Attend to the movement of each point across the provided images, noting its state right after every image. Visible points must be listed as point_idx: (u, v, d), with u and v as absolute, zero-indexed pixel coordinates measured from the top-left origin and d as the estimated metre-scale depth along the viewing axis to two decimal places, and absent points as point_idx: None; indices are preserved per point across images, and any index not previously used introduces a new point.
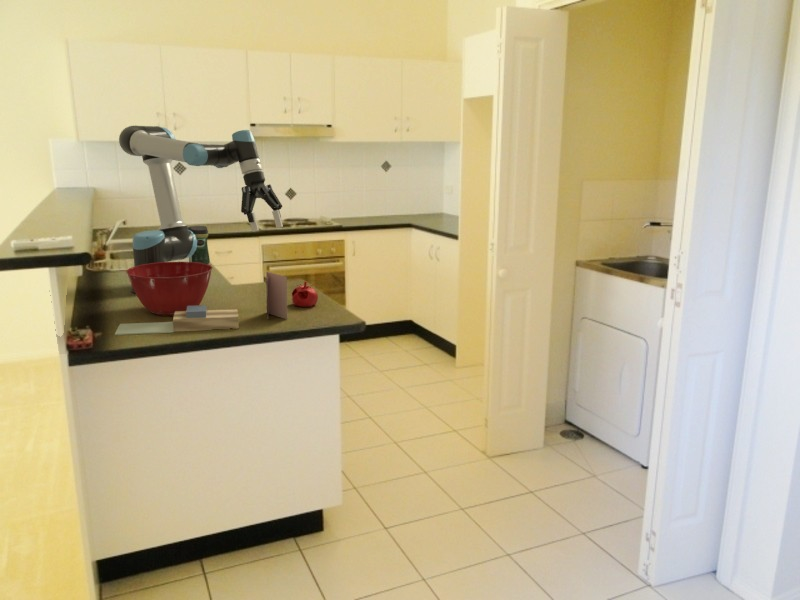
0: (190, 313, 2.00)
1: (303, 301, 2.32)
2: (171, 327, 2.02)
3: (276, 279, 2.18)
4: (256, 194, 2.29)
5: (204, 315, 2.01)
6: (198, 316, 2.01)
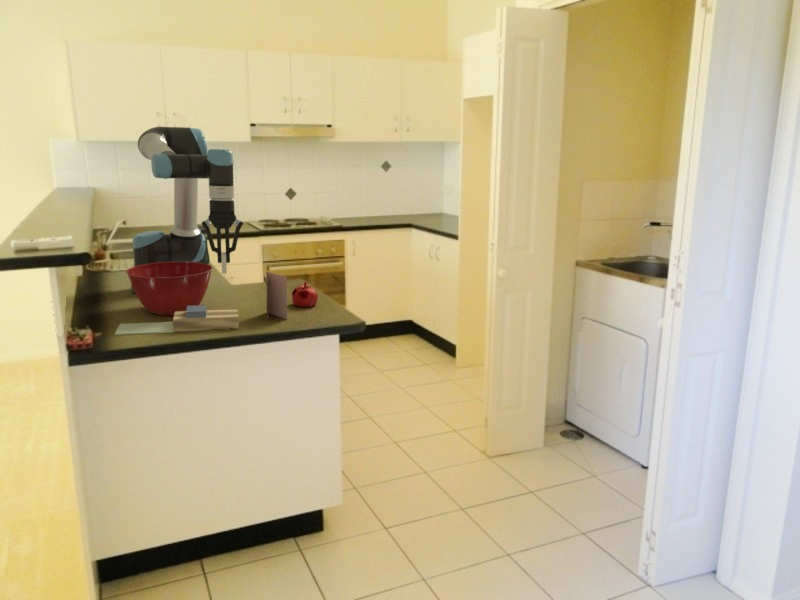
0: (190, 313, 2.00)
1: (303, 301, 2.32)
2: (171, 327, 2.02)
3: (276, 279, 2.18)
4: (218, 228, 1.98)
5: (204, 315, 2.01)
6: (198, 316, 2.01)
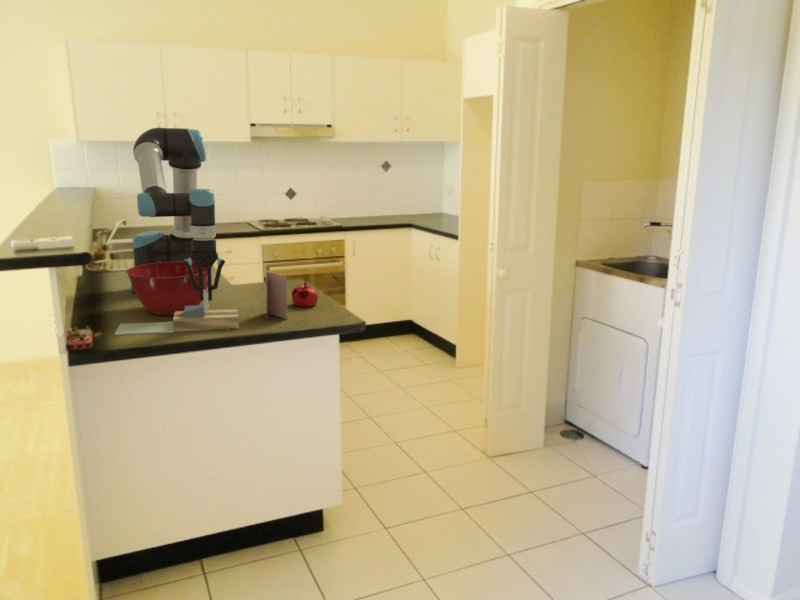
0: (188, 313, 2.00)
1: (303, 301, 2.32)
2: (171, 327, 2.02)
3: (276, 279, 2.18)
4: (200, 267, 2.00)
5: (202, 315, 2.01)
6: (196, 316, 2.01)
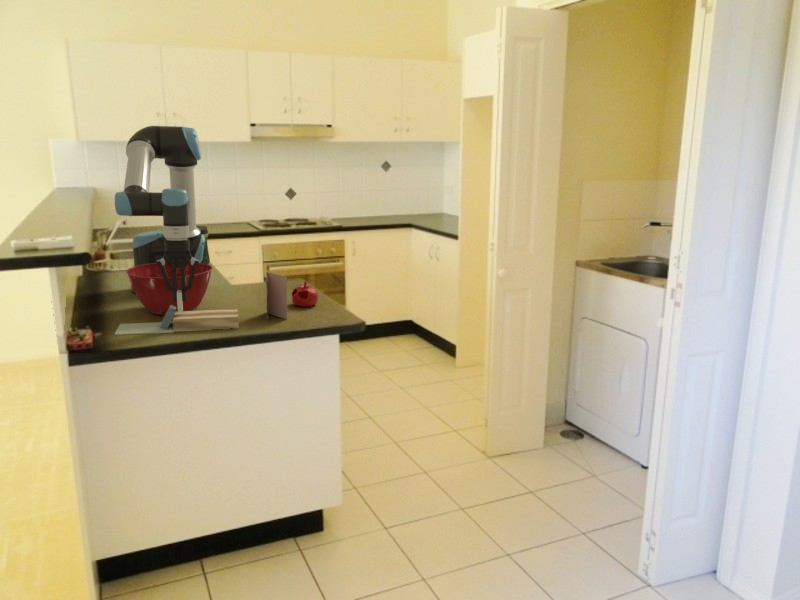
0: (163, 324, 1.98)
1: (303, 301, 2.32)
2: (171, 327, 2.02)
3: (276, 279, 2.18)
4: (173, 268, 1.98)
5: (172, 313, 1.98)
6: (170, 319, 1.99)
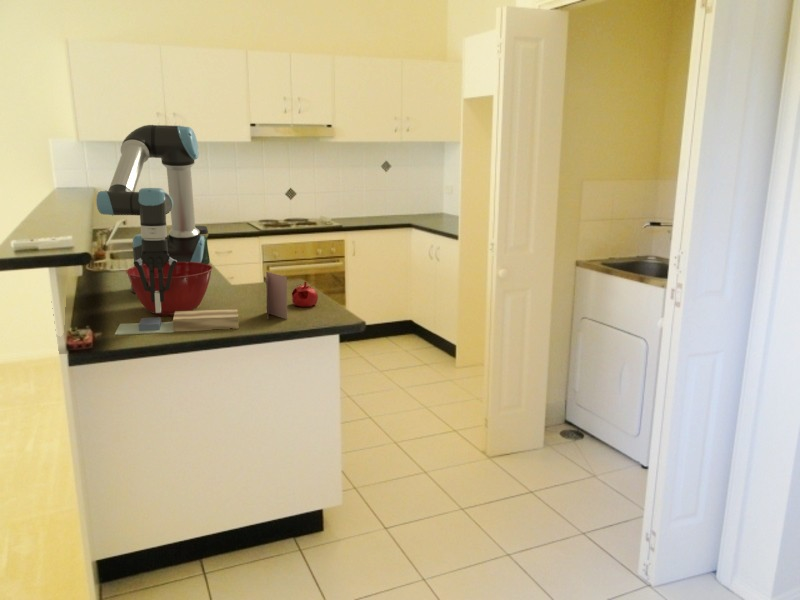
0: (155, 328, 1.98)
1: (303, 301, 2.32)
2: (171, 327, 2.02)
3: (276, 279, 2.18)
4: (150, 268, 1.96)
5: (140, 326, 1.97)
6: (146, 325, 1.97)
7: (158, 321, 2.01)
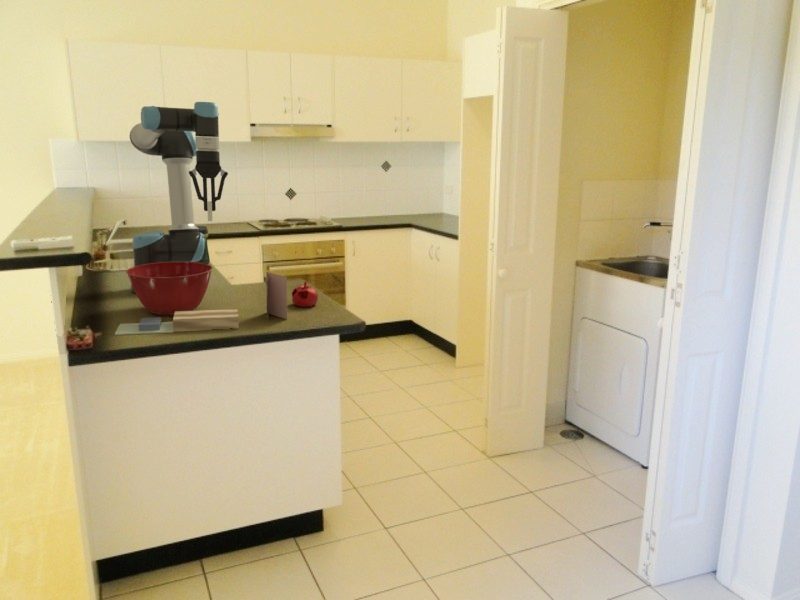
0: (155, 328, 1.98)
1: (303, 301, 2.32)
2: (171, 327, 2.02)
3: (276, 279, 2.18)
4: (204, 177, 2.10)
5: (140, 326, 1.97)
6: (146, 325, 1.97)
7: (158, 321, 2.01)
